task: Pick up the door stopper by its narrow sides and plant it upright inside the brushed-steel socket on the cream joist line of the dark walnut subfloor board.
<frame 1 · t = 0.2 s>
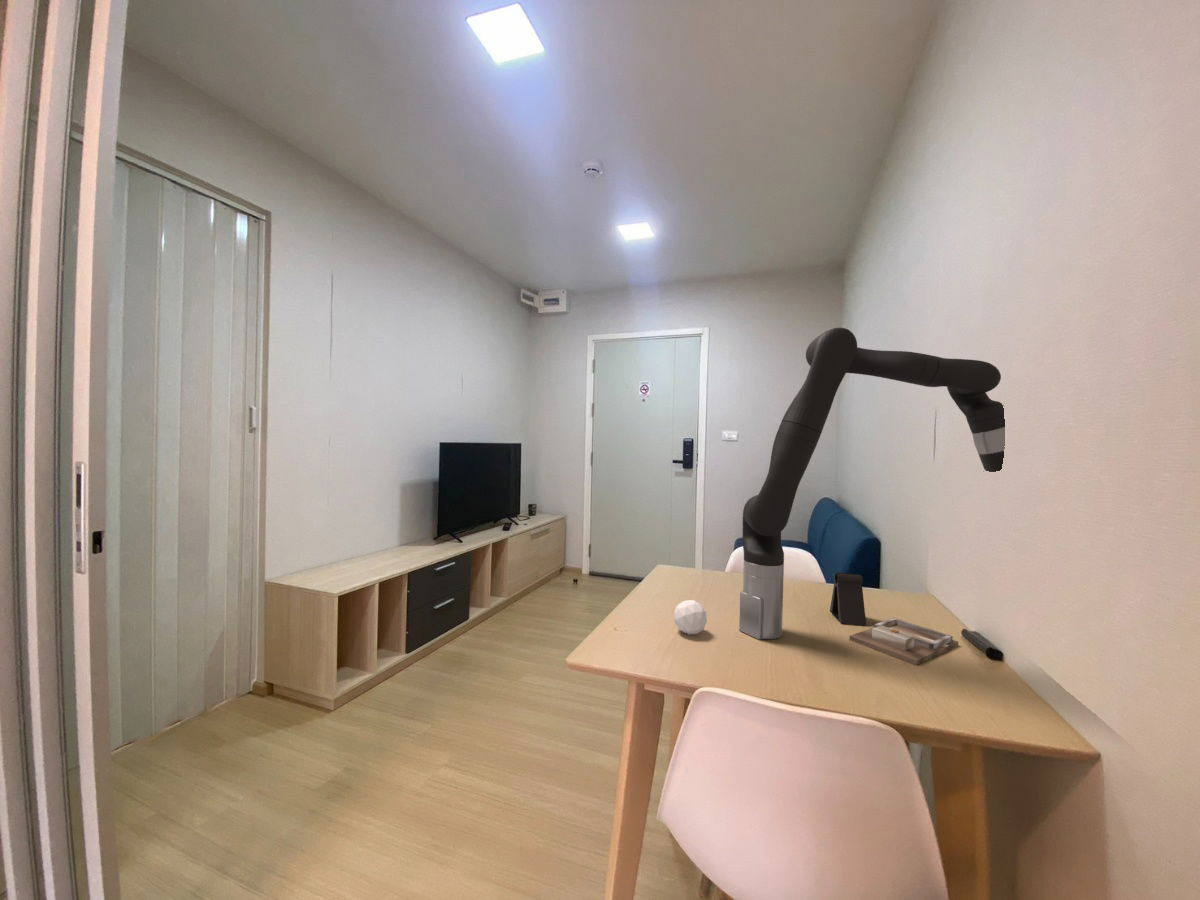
hand: (1024, 515, 100), 31 cm above the table, tool tilted 20°, fingers open, 8 cm apart
door stopper: (847, 619, 118), on the table
subfloor board: (903, 642, 104), on the table
geometric ball: (689, 633, 107), on the table
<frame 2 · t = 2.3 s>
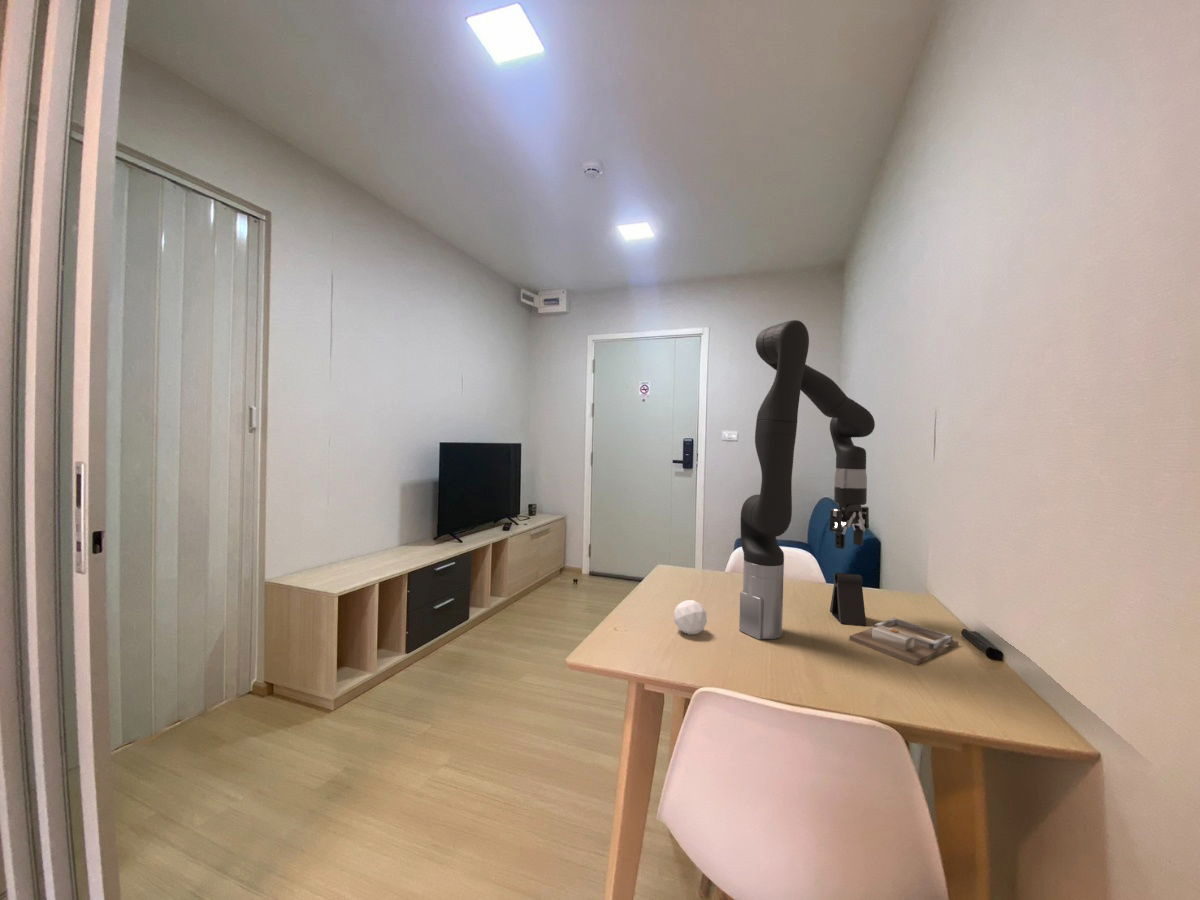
hand: (849, 546, 118), 19 cm above the table, tool pointing down, fingers open, 8 cm apart
nothing on the table moved.
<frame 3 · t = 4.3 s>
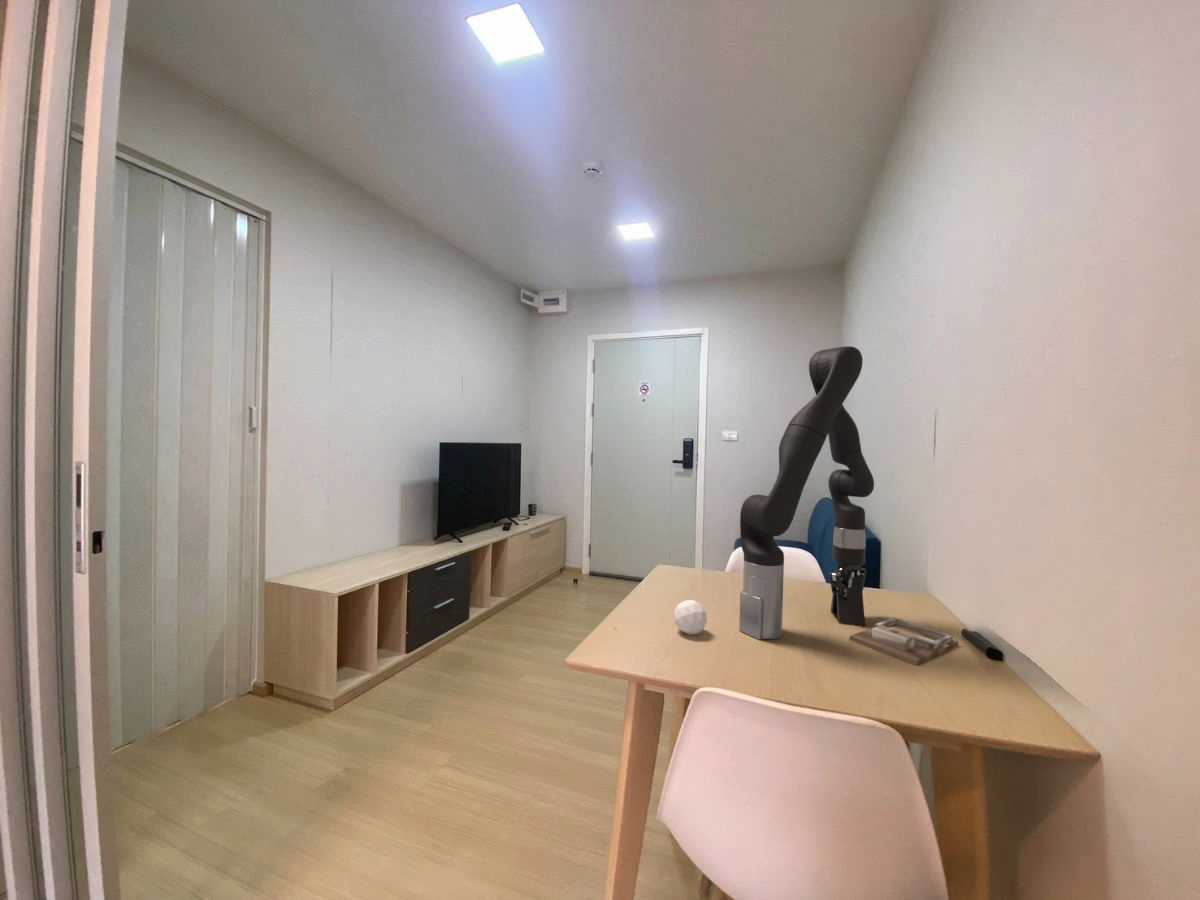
hand: (847, 608, 118), 3 cm above the table, tool pointing down, fingers closed on door stopper, 4 cm apart
door stopper: (847, 619, 118), on the table, touching gripper
everything else where it was.
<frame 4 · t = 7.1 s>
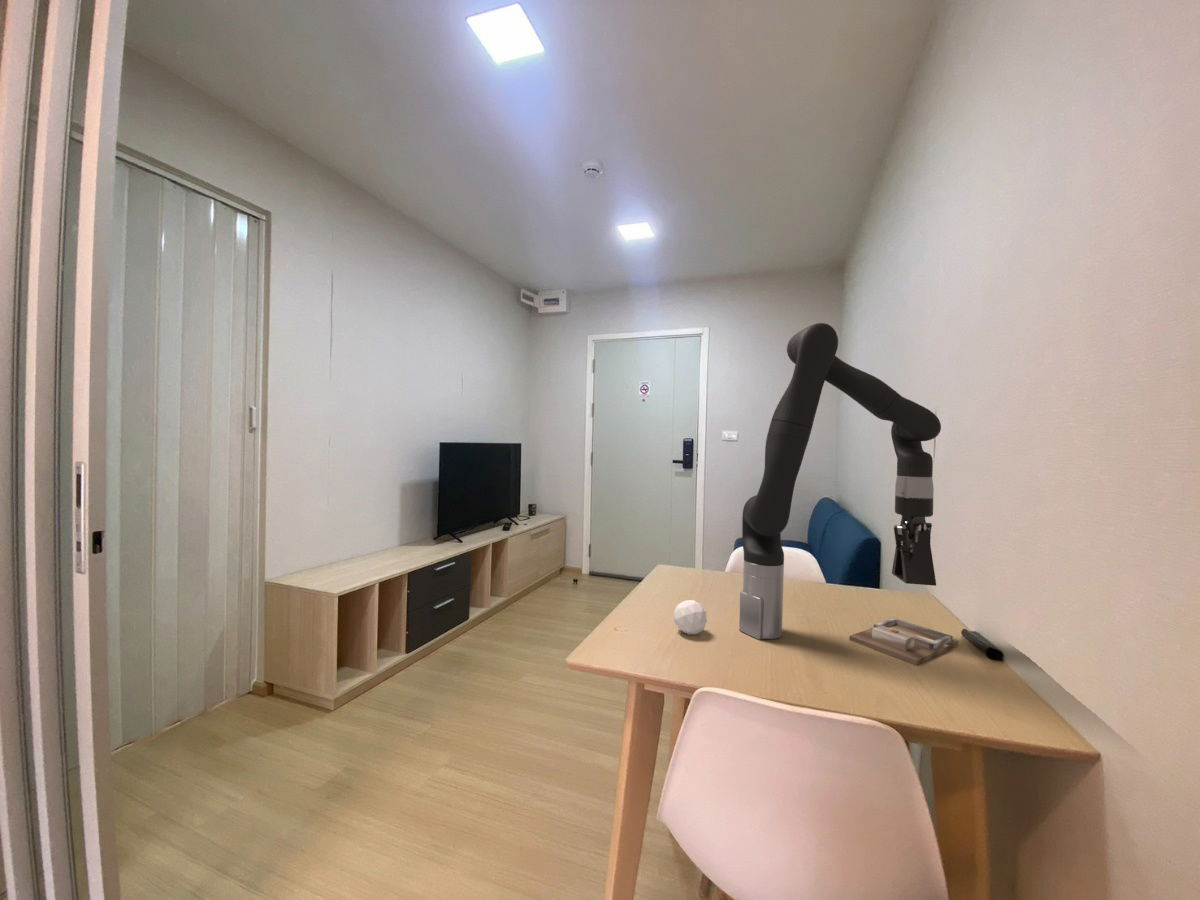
hand: (912, 566, 107), 17 cm above the table, tool pointing down, fingers closed on door stopper, 4 cm apart
door stopper: (912, 580, 107), point 14 cm above the table, touching gripper
everything else where it was.
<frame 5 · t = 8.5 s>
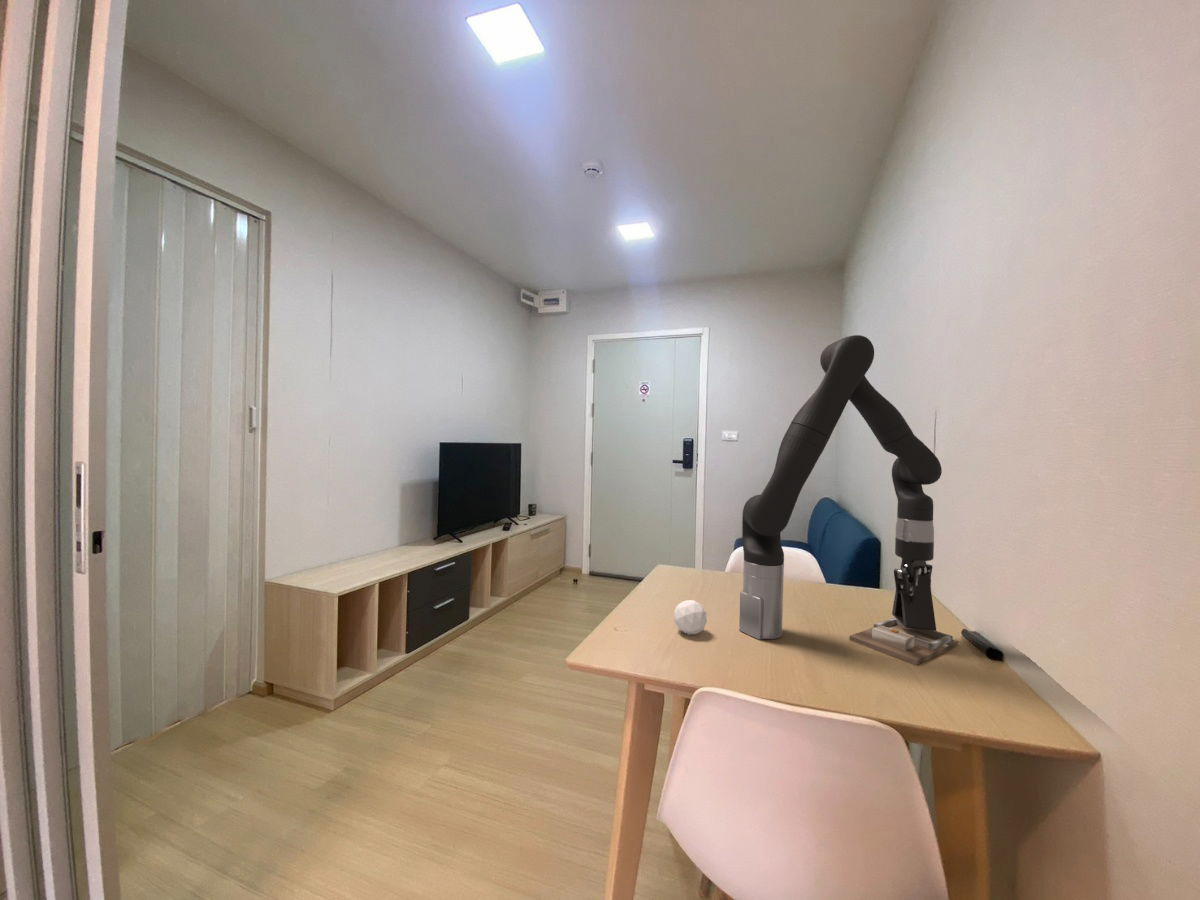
hand: (912, 609, 106), 7 cm above the table, tool pointing down, fingers closed on door stopper, 4 cm apart
door stopper: (913, 623, 106), point 4 cm above the table, touching gripper
everything else where it was.
when the fingers open (5 cm above the table, at t = 9.0 s): door stopper stays where it is, resting on subfloor board.
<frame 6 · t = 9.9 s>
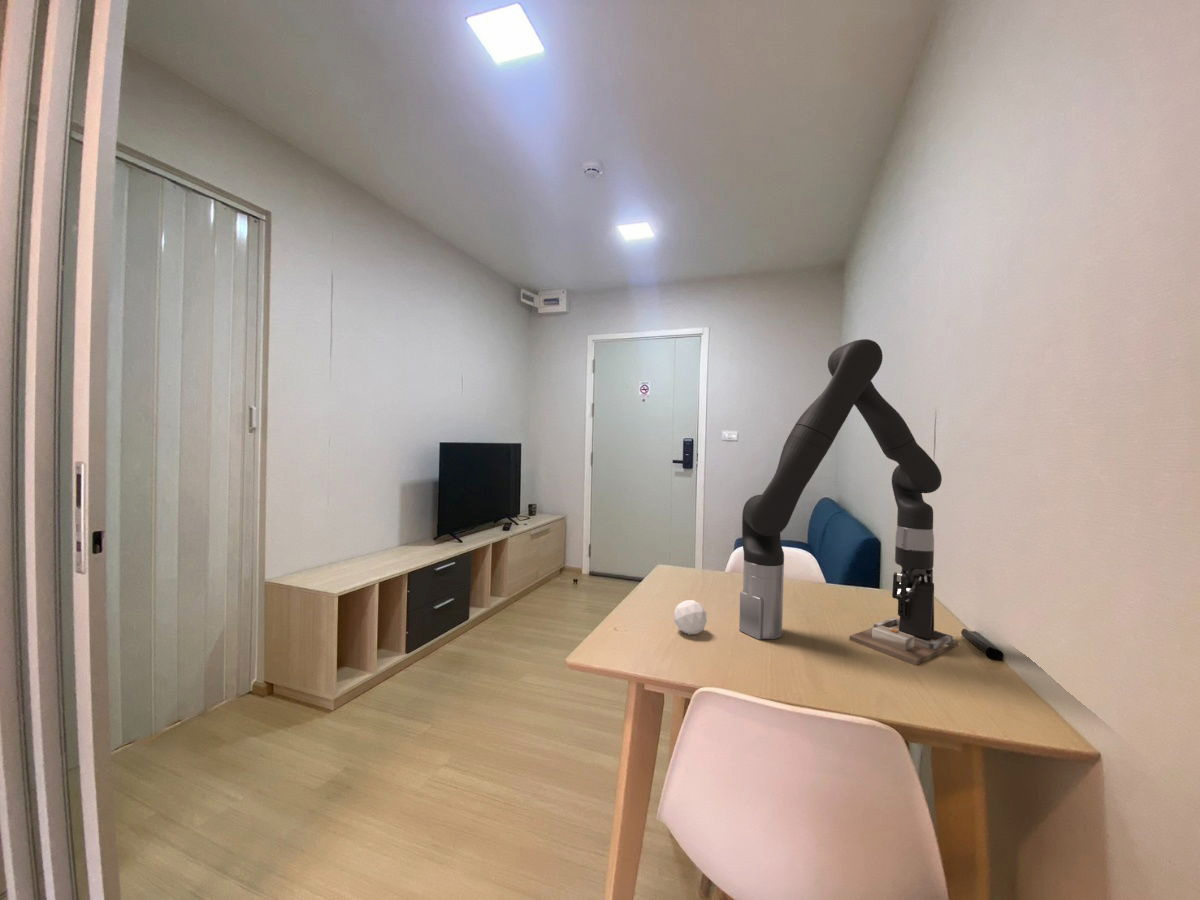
hand: (912, 613, 106), 6 cm above the table, tool pointing down, fingers open, 8 cm apart
door stopper: (916, 632, 105), point 2 cm above the table, touching subfloor board
everything else where it was.
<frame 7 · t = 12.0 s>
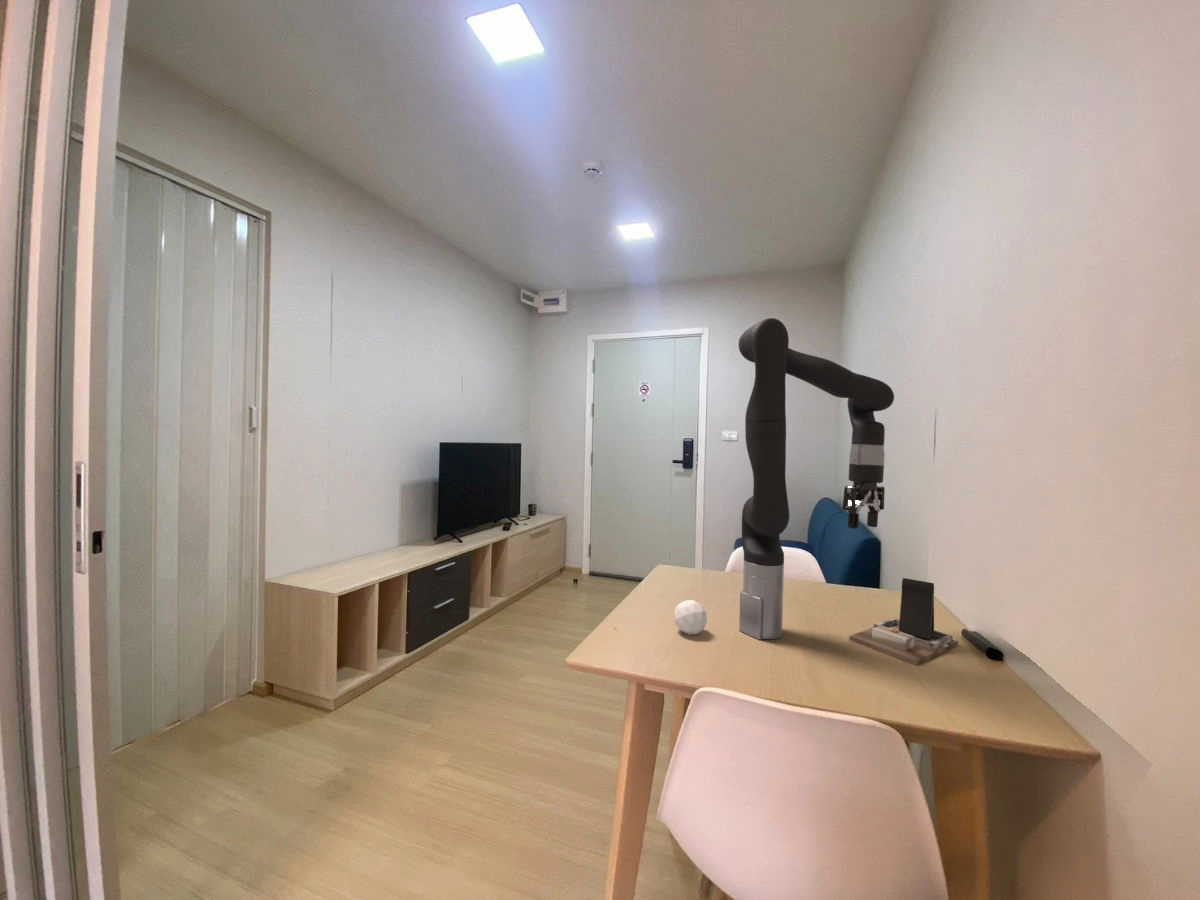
hand: (862, 527, 112), 26 cm above the table, tool pointing down, fingers open, 8 cm apart
nothing on the table moved.
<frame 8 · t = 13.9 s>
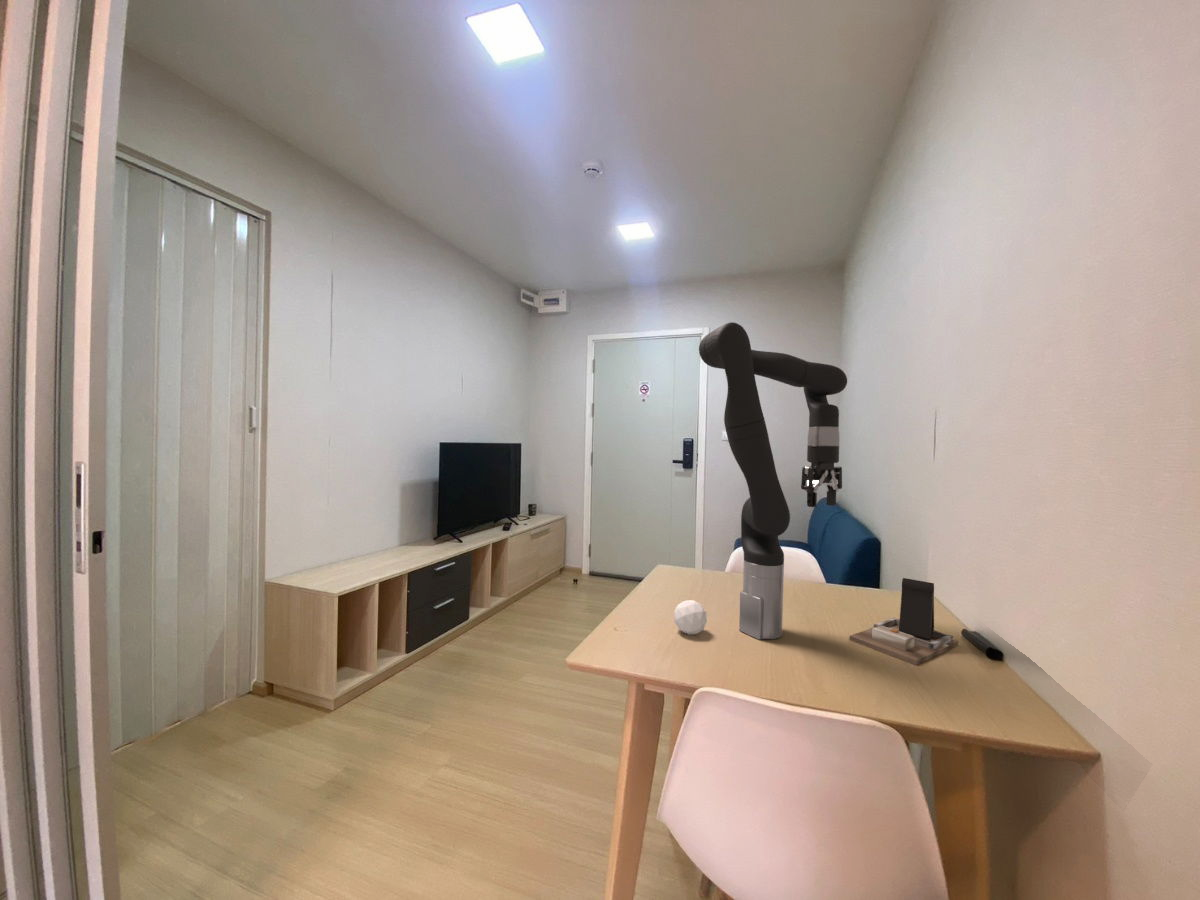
hand: (821, 506, 117), 30 cm above the table, tool pointing down, fingers open, 8 cm apart
nothing on the table moved.
at the end: door stopper 0.9 cm from the target spot on the subfloor board, point 2.0 cm above the subfloor board's base; door stopper tilted 0°; the gripper is holding nothing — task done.
